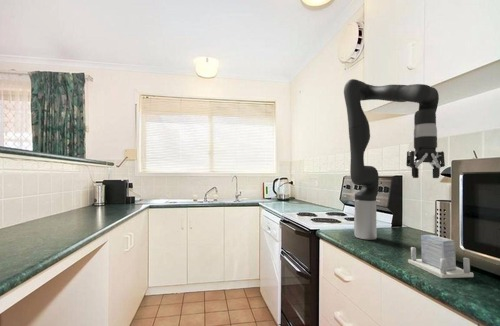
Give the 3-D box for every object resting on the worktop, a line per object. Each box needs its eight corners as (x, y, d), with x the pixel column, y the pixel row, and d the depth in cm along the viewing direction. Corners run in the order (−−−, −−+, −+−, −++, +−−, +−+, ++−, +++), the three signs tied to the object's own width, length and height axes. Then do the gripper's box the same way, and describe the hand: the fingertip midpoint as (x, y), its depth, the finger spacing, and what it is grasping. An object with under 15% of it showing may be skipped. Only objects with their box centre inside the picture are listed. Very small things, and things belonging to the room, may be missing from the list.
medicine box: (456, 270, 76) (455, 240, 76) (443, 271, 75) (443, 241, 75) (432, 261, 83) (432, 234, 84) (420, 262, 82) (420, 234, 83)
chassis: (408, 262, 85) (407, 247, 85) (435, 261, 86) (435, 246, 86) (441, 278, 72) (441, 260, 72) (473, 276, 73) (473, 259, 73)
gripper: (433, 138, 105) (434, 178, 104) (401, 137, 103) (401, 177, 102) (450, 135, 97) (450, 178, 97) (415, 134, 96) (416, 178, 95)
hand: (425, 178), depth 100 cm, fingers open, 8 cm apart
